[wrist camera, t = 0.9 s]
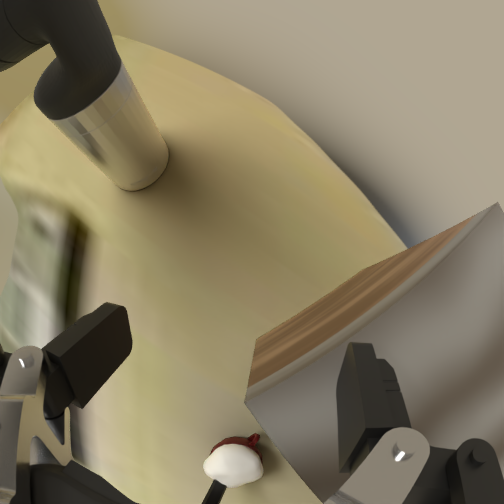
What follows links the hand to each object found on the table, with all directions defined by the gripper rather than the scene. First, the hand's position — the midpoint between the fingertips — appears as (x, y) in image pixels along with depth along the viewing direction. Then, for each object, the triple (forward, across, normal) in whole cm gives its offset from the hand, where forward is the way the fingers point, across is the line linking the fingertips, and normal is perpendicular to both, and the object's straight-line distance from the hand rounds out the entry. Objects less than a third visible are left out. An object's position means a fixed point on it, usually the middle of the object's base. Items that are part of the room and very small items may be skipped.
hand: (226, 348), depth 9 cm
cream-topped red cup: (+12, +2, +26) cm, 29 cm away
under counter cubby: (+18, -12, +17) cm, 28 cm away
